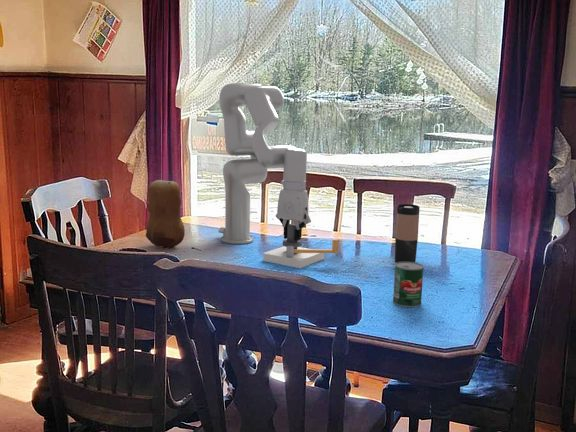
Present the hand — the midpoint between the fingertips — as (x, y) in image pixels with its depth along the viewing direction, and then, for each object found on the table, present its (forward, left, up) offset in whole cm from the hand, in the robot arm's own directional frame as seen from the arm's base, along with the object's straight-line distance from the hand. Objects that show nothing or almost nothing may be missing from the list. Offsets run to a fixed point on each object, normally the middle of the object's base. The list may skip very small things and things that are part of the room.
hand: (292, 238), depth 214 cm
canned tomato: (+48, -14, -9) cm, 51 cm away
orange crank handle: (+9, -2, -4) cm, 10 cm away
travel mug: (+30, +26, -9) cm, 41 cm away
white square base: (0, 0, -9) cm, 9 cm away
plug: (0, 0, -5) cm, 5 cm away
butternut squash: (-49, -11, -9) cm, 51 cm away
